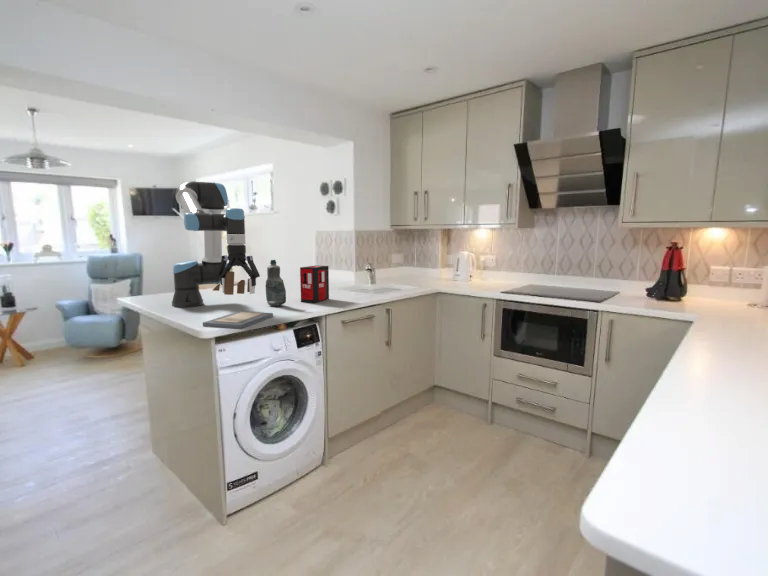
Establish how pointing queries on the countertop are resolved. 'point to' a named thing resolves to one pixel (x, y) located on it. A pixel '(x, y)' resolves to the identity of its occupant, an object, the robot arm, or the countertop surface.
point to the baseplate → (238, 319)
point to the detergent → (275, 285)
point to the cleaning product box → (314, 284)
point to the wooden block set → (232, 285)
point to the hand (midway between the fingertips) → (238, 293)
